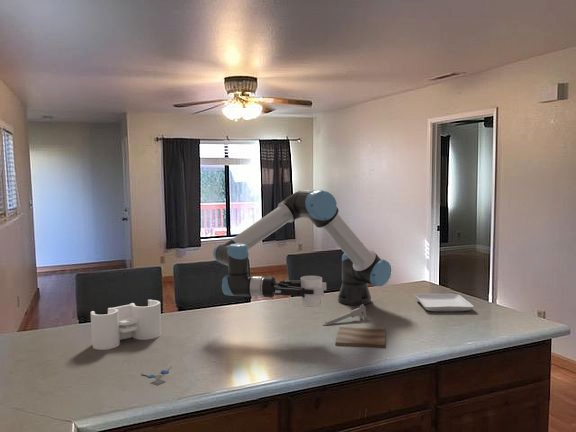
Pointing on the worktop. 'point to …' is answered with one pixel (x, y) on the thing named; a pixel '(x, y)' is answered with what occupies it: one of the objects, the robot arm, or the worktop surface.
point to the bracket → (125, 324)
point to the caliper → (349, 315)
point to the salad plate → (443, 302)
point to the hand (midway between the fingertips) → (324, 289)
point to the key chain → (158, 381)
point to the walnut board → (361, 337)
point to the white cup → (311, 282)
